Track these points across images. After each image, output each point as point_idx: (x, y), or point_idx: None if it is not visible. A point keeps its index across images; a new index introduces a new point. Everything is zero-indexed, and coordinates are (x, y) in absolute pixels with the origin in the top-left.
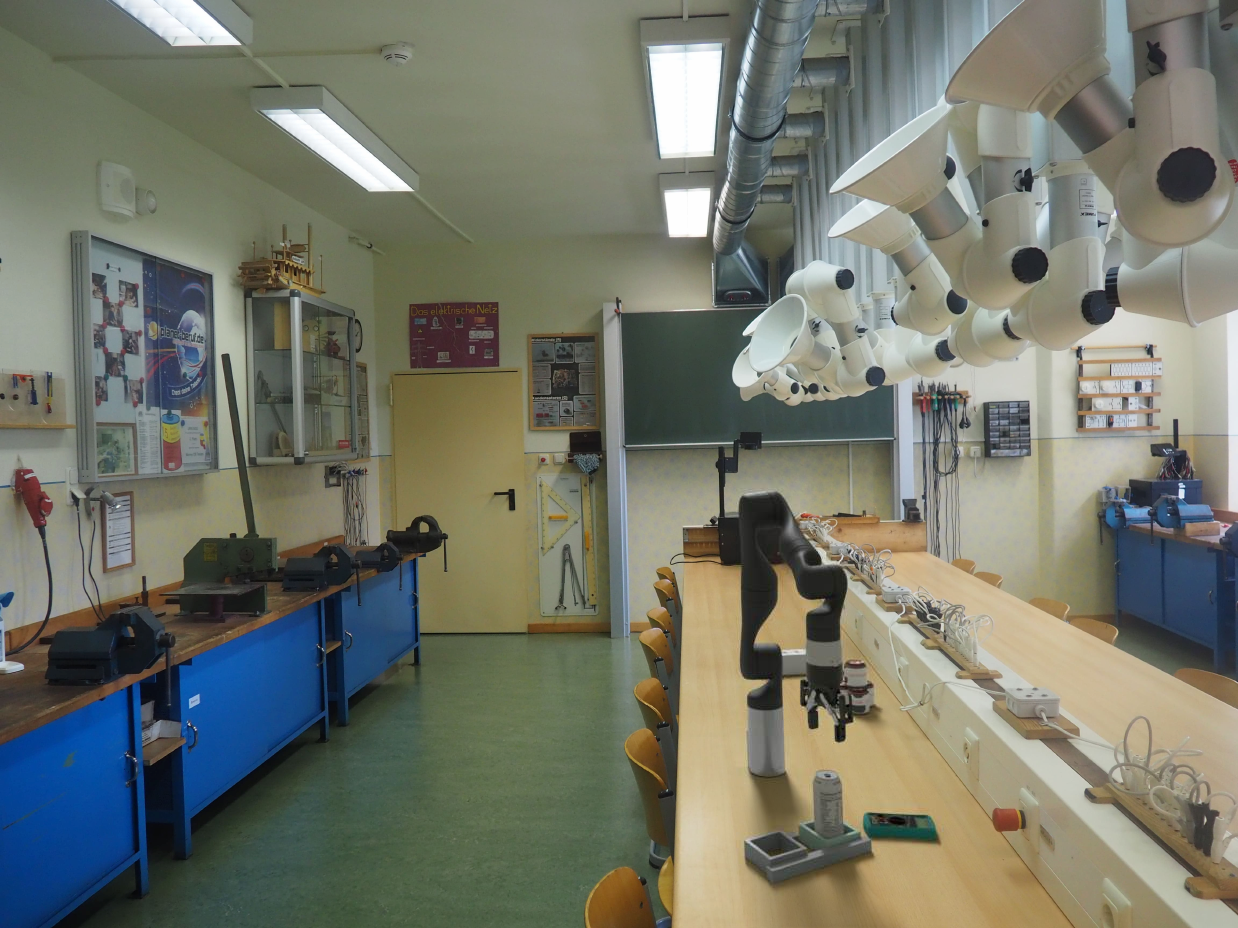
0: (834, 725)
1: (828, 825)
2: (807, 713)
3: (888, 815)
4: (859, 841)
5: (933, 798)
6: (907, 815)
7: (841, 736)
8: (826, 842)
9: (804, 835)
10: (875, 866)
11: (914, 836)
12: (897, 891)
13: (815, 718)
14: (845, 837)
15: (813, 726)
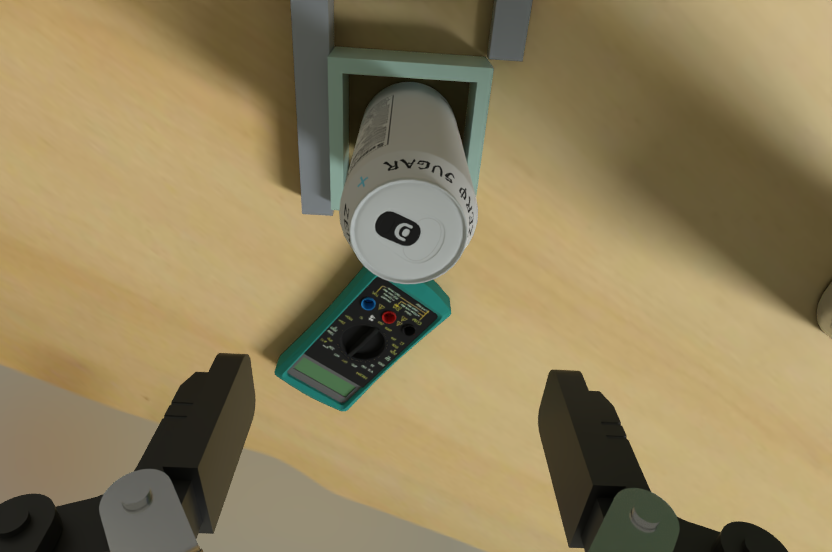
0: (195, 458)
1: (368, 117)
2: (642, 474)
3: (399, 345)
4: (310, 177)
5: (434, 472)
6: (371, 378)
7: (175, 403)
8: (327, 57)
9: (456, 59)
10: (230, 144)
11: (307, 330)
12: (82, 94)
13: (561, 468)
14: (330, 145)
15: (550, 400)
